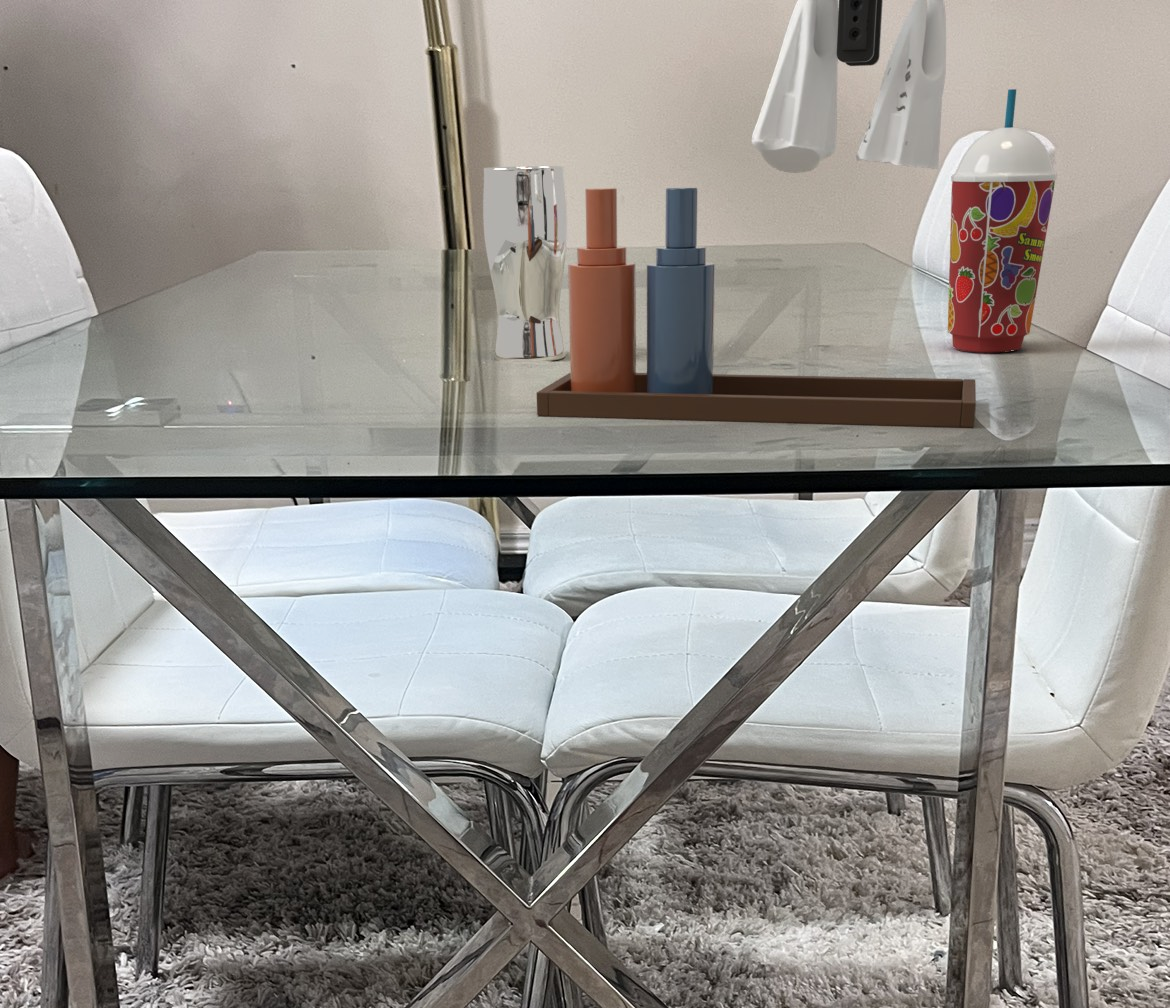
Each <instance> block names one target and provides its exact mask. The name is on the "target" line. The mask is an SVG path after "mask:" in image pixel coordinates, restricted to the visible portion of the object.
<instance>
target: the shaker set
mask: <svg viewBox="0 0 1170 1008" xmlns="http://www.w3.org/2000/svg"><path fill="white" fill-rule="evenodd" d="M838 11H839V0H797V1H796V3H795V5H794V7H793V11H792V13H791V16H790V19H789V22H788V25H787V29H786V31H785V34H784V38H783V40H782V44H781V47H780V51H779V55H778V58H777V62H776V64H775V67H774V70H773V73H772V76H771V79H770V81H769V85H768V88H767V91H766V94H765V97H764V100H763V104H762V106H761V108H760V112H759V115H758V118H757V121H756V124H755V126H754V129H753V132H752V136H751V145H753V147H754V148H755V149H756V150H757V151H758V152H759V153H760V155H761V157H762V158H763V160H764V161H765V162H766V163H767V164H768V165H770V166H771V168H773V169H776V170H777V171H779V172H784V173H790V174H791V173H792V174H799V173H806V172H811V171H813V170H815V168H817V167H818V166H819V165H820V162H822V161H824V160H825V159H828V158H830V157H831V156H832V155H834V154H835V153H836V151H837V128H838V127H837V124H838V123H837V122H838V121H837V120H838V119H837V117H838V66H839V65H838V64H839V59H838V58H837V33H838ZM890 53H891V54H890V55H889V59H888V62H887V65H886V66H885V70H884V72H883V73H884V74H883V76H882V80H881V84H880V88H879V93H878V96H877V98H876V101H875V103H874V107H873V109H872V113H871V116H870V119H869V122H868V124H867V126H866V129H865V133H864V135H863V138H862V140H861V143H860V145H859V148H858V149H857V152H856V157H855V160H856V161H865V162H868V163H869V162H873V163H881V164H892V165H894V166H901V167H911V168H912V167H914V168H921V169H926V168H927V169H931V170H938V169H939V161H940V159H939V157H940V156H939V155H940V144H941V141H940V140H941V124H942V106H943V95H944V88H945V82H946V74H947V73H946V72H947V71H946V70H947V69H946V68H947V17H946V7H945V1H944V0H929V1H928V0H915V1H914V3H913V4H912V5H911V8H910V9H909V11H908V13H907V15H906V17H905V19H904V21H903V23H902V25H901V27H900V29H899V31H898V35H897V37H896V40H895V43H894V45H893V48H892V50H891V52H890Z"/></svg>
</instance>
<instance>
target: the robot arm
mask: <svg viewBox="0 0 1170 1008" xmlns="http://www.w3.org/2000/svg"><path fill="white" fill-rule="evenodd" d="M882 16H883V0H838V33H837V58H838V61H840V62H841V63H845V64H846V65H847V66H849V67H867V66H875V65H877V63H878V62H879V60H880V55H881V54H880V52H881V38H882V37H881V36H882V35H881V34H882V18H883V17H882Z"/></svg>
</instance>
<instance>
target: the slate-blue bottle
mask: <svg viewBox="0 0 1170 1008" xmlns="http://www.w3.org/2000/svg"><path fill="white" fill-rule="evenodd" d="M698 191H699V188H698V187H697V186H675V187H674V186H673V187H672V186H671V187H666V188H665V235H664V236H665V242H664V246H663V245H662V246H657V247H656V248H655V261H654V262H649V263H647V264H646V373H647V393H673V394H713V374H714V355H715V352H714V349H715V305H716V303H715V301H716V298H715V297H716V263H715V262H711V261H707V247H706V246H704V245H698V197H699V196H698Z"/></svg>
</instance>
